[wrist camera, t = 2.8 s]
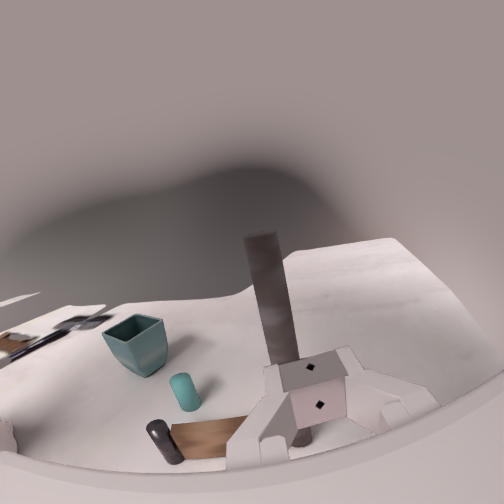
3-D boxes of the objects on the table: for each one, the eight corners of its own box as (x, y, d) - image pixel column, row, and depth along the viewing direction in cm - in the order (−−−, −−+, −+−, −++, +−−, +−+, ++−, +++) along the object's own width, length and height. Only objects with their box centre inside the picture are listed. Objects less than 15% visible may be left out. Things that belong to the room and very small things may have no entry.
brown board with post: (185, 462, 27) (96, 274, 22) (187, 447, 30) (108, 265, 24) (313, 444, 27) (278, 233, 22) (309, 428, 30) (274, 228, 24)
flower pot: (179, 361, 51) (163, 318, 49) (145, 387, 44) (125, 343, 42) (150, 351, 56) (135, 312, 54) (118, 374, 49) (100, 333, 47)
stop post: (180, 412, 37) (167, 386, 36) (182, 399, 40) (171, 374, 39) (200, 410, 37) (188, 384, 36) (201, 397, 40) (191, 371, 39)
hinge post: (164, 464, 27) (144, 434, 26) (167, 450, 30) (148, 419, 28) (183, 464, 27) (164, 433, 26) (185, 450, 30) (167, 418, 28)
